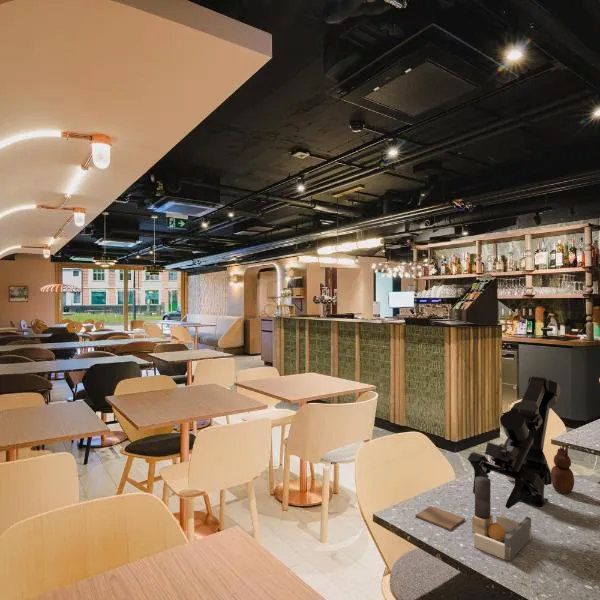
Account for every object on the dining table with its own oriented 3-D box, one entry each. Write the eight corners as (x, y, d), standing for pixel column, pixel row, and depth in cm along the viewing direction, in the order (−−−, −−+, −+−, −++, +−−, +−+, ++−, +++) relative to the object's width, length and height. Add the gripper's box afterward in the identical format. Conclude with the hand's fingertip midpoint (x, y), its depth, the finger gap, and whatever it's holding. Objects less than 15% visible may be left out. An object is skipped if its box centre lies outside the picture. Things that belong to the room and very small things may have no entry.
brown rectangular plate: (430, 507, 124) (430, 505, 124) (464, 520, 117) (464, 518, 117) (415, 516, 118) (415, 514, 118) (450, 530, 111) (450, 528, 111)
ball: (510, 527, 106) (505, 541, 107) (494, 517, 109) (490, 530, 110) (504, 533, 104) (499, 547, 104) (487, 522, 106) (483, 536, 107)
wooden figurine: (577, 496, 132) (577, 446, 132) (556, 495, 133) (556, 445, 133) (568, 487, 138) (568, 440, 138) (548, 486, 139) (548, 439, 140)
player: (479, 525, 112) (479, 474, 112) (493, 530, 110) (494, 478, 110) (471, 532, 109) (471, 479, 109) (485, 538, 106) (485, 484, 106)
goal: (497, 526, 113) (497, 507, 113) (531, 538, 108) (531, 518, 108) (474, 547, 104) (474, 525, 104) (509, 561, 98) (509, 538, 98)
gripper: (471, 422, 122) (445, 470, 116) (537, 440, 106) (511, 497, 100) (489, 446, 126) (464, 493, 120) (555, 466, 110) (530, 522, 104)
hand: (489, 500), depth 111 cm, fingers open, 9 cm apart
